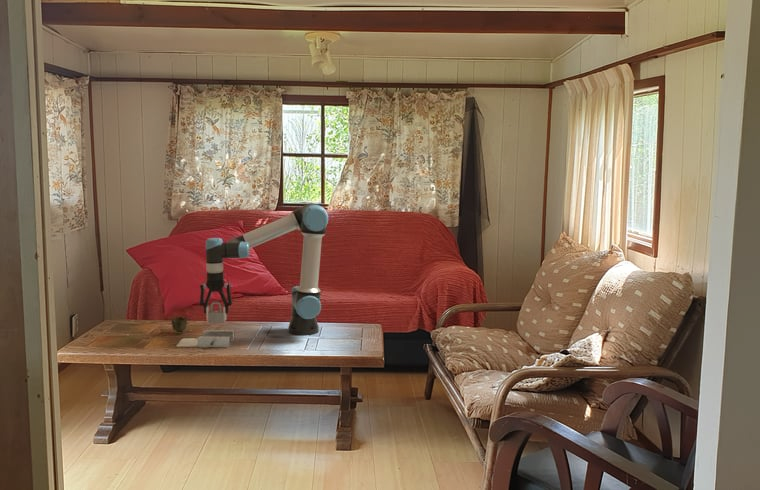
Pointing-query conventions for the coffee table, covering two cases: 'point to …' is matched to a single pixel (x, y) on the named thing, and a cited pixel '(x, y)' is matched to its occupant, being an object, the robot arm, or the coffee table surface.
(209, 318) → the padlock
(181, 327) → the cup
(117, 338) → the coffee table surface
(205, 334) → the vise
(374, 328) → the coffee table surface
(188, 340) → the pad
